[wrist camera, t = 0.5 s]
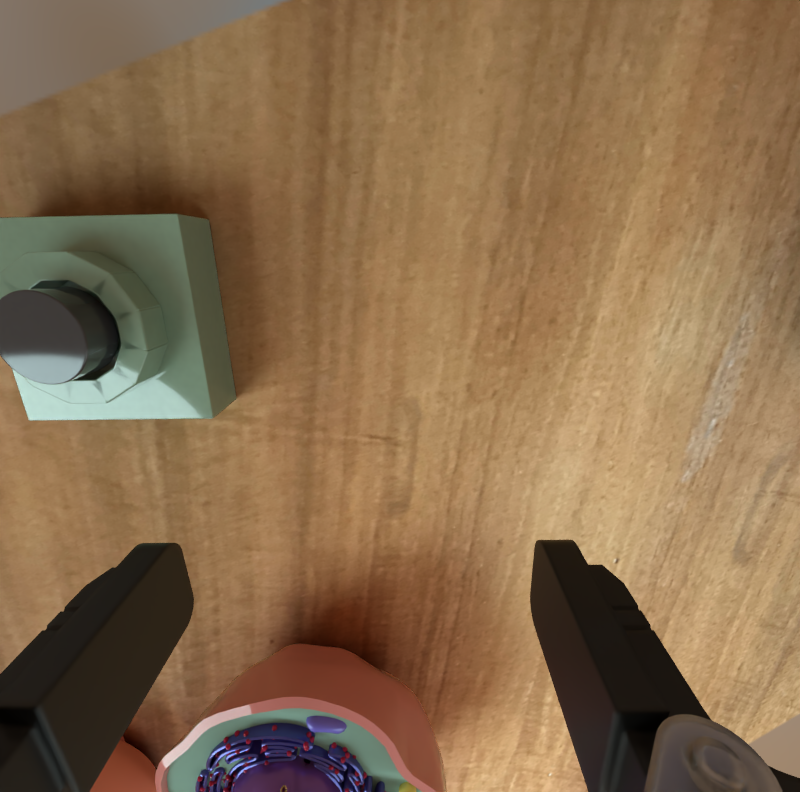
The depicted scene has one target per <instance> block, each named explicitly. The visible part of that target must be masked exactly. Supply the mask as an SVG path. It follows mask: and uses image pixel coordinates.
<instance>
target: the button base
mask: <svg viewBox="0 0 800 792" xmlns="http://www.w3.org/2000/svg"><path fill="white" fill-rule="evenodd" d="M58 286H68V287H74V288H77V289H80V290H82V291H85V292H87V293H89V294H90V295H92V296H93V297H95V298H96V299H97V300H99V301H100V302H101V303H102V304H103V305H104V306H105V307H106V309H107V310H108V311H109V313H110V314H111V316H112V318H113V320H114V322H115V324H116V327H117V331H118V348H117V352H116V354H115V356H114V358H113V359H112V361H111V362H110V363H109V364H108V365H107V366H106V367H104V368H102V369H101V370H98V371H95V372H93V373H90V374H87V375H85V376H82V377H79V378H77V379H74V380H71V381H69V382H66V383H62V384H55V385H52V384H43V383H38V382H35V381H32V380H30V379H27V378H26V377H24V376H22V375H20V374H19V373H17V372H16V371H15V370H14V369H12V370H13V373H14V377H15V380H16V383H17V386H18V389H19V392H20V395H21V398H22V401H23V404H24V407H25V410H26V413H27V416H28V419H29V420H114V419H204V418H214V417H215V416H217V415H218V414H219V413H220V412H221V411H223V410H224V409H225V408H226V407H227V406H228V405H230V404H231V403H232V402H233V401H234V400H236V392H235V386H234V379H233V373H232V366H231V360H230V353H229V347H228V340H227V334H226V327H225V321H224V314H223V308H222V301H221V295H220V288H219V282H218V275H217V269H216V262H215V256H214V249H213V243H212V236H211V230H210V223H209V219H205V218H199V217H194V216H188V215H182V214H134V215H89V216H44V217H0V299H1V298H2V297H4V296H5V295H7V294H8V293H11V292H13V291H17V290H25V289H36V288H47V287H58Z"/></svg>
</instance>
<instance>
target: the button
mask: <svg viewBox="0 0 800 792" xmlns="http://www.w3.org/2000/svg"><path fill="white" fill-rule="evenodd" d="M117 348H118V331H117V327H116V324H115V322H114V320H113V318H112V316H111V314H110V313H109V311H108V310H107V309H106V307H105V306H104V305H103V304H102V303H101V302H100V301H99V300H97V299H96V298H95V297H93V296H92V295H90V294H89V293H87V292H85V291H82V290H80V289H77V288H74V287H68V286H58V287H47V288H36V289H25V290H17V291H13V292H11V293H8V294H7V295H5V296H4V297H2V298H1V299H0V355H1V357H2V358H3V359H4V361H5V362H6V363H7V364H8V365H9V366H10V367H11V368H12V369H14V370H15V371H16V372H17V373H19V374H20V375H22V376H24V377H26V378H27V379H30V380H32V381H35V382H38V383H43V384H52V385H55V384H62V383H66V382H69V381H71V380H74V379H77V378H79V377H82V376H85V375H87V374H90V373H93V372H95V371H98V370H101V369H102V368H104V367H106V366H107V365H108V364H109V363H110V362H111V361H112V359H113V358H114V356H115V354H116V352H117Z"/></svg>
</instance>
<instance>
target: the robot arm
mask: <svg viewBox="0 0 800 792" xmlns="http://www.w3.org/2000/svg"><path fill="white" fill-rule="evenodd" d="M530 603H531V612H532V618H533V623H534V626H535V629H536V632H537V636H538V639H539V642H540V645H541V648H542V651H543V654H544V657H545V660H546V663H547V666H548V669H549V672H550V675H551V678H552V681H553V684H554V688H555V691H556V694H557V697H558V700H559V703H560V706H561V709H562V712H563V715H564V718H565V721H566V724H567V727H568V730H569V733H570V736H571V740H572V743H573V746H574V749H575V752H576V755H577V758H578V761H579V764H580V767H581V770H582V773H583V776H584V779H585V782H586V785H587V788H588V792H800V778H797V777H794V776H791V775H788V774H786V773H783V772H781V771H778V770H776V769H774V768H772V767H770V766H768V765H767V764H766V763H765V762H764V760H763V759H762V758H761V757H760V756H759V755H758V754H757V753H756V752H755V751H754V750H753V749H752V748H751V747H750V746H749V745H748V744H747V743H746V742H745V741H743V740H742V739H741V738H740V737H738V736H737V735H736V734H734V733H733V732H731V731H730V730H728V729H727V728H725V727H723V726H722V725H720V724H718V723H715V722H713V721H712V720H711V719H710V718H709V716H708V715H707V713H706V712H705V711H704V709H703V707H702V706H701V704H700V703H699V701H698V700H697V698H696V696H695V695H694V693H693V692H692V690H691V689H690V687H689V685H688V684H687V682H686V681H685V679H684V678H683V676H682V674H681V673H680V671H679V670H678V668H677V666H676V665H675V663H674V662H673V660H672V659H671V657H670V655H669V654H668V652H667V651H666V649H665V648H664V646H663V644H662V643H661V641H660V640H659V638H658V637H657V635H656V633H655V632H654V630H651V628H650V624H649V622H648V621H647V619H646V618H645V616H644V615H643V613H642V611H639V609H638V605H637V603H636V602H635V600H634V599H633V597H632V596H631V594H630V592H629V591H628V589H627V588H626V586H625V585H624V583H623V582H622V581H620V580H619V579H618V578H617V577H616V576H614V575H613V574H612V573H611V572H610V571H609V570H607V569H606V568H605V567H604V566H603V565H588V564H587V562H586V560H585V559H584V557H583V555H582V553H581V551H580V550H579V548H578V546H577V544H576V543H575V542H574V541H573V540H537V541H536V544H535V549H534V560H533V571H532V581H531V592H530ZM193 605H194V597H193V592H192V588H191V584H190V580H189V576H188V572H187V568H186V564H185V560H184V556H183V552H182V549H181V547H180V546H179V545H178V544H177V543H141V544H139V545H137V546H136V547H135V548H134V549H133V550H132V551H131V552H130V553H129V554H128V555H127V556H126V557H125V558H124V560H123V561H122V562H121V563H120V564H119V565H118V566H117V567H116V568H111V569H109V570H108V571H106V572H105V573H104V574H102V575H101V576H99V577H98V578H96V579H95V580H93V581H92V582H90V583H89V584H87V585H86V586H85V587H84V588H83V589H82V590H81V591H80V592H79V593H78V594H77V595H76V596H75V597H74V598H73V599H72V600H71V601H70V602H69V603H68V605H67V606H66V607H65V610H64V612H60V613H59V614H58V615H57V616H56V617H55V618H54V619H53V620H52V621H51V622H50V623H49V624H48V625H47V629H46V630H45V631H42V632H41V633H40V634H39V635H38V636H37V637H36V638H35V639H34V640H33V641H32V642H31V643H30V644H29V645H28V646H27V647H26V648H25V649H24V650H23V651H22V652H21V653H20V654H19V655H18V656H17V657H16V659H15V660H14V661H13V662H12V663H11V664H10V665H9V666H8V667H7V668H6V669H5V670H4V671H3V672H2V673H1V674H0V792H90V790H91V788H92V787H93V785H94V783H95V781H96V780H97V778H98V776H99V775H100V773H101V771H102V770H103V768H104V766H105V765H106V763H107V761H108V759H109V758H110V756H111V754H112V753H113V751H114V749H115V748H116V746H117V744H118V743H119V741H120V739H121V737H122V736H123V734H124V732H125V731H126V729H127V727H128V726H129V724H130V722H131V721H132V719H133V717H134V715H135V714H136V712H137V710H138V709H139V707H140V705H141V704H142V702H143V700H144V699H145V697H146V695H147V693H148V692H149V690H150V688H151V687H152V685H153V683H154V682H155V680H156V678H157V677H158V675H159V673H160V671H161V670H162V668H163V666H164V665H165V663H166V661H167V660H168V658H169V656H170V655H171V653H172V651H173V649H174V648H175V646H176V644H177V643H178V641H179V639H180V638H181V636H182V634H183V633H184V631H185V629H186V627H187V626H188V624H189V621H190V619H191V615H192V611H193Z"/></svg>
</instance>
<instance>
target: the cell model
mask: <svg viewBox="0 0 800 792" xmlns="http://www.w3.org/2000/svg"><path fill="white" fill-rule="evenodd" d="M155 785H156V790H157V792H447V788H446V776H445V769H444V765H443V760H442V756H441V753H440V749H439V746H438V743H437V740H436V737H435V734H434V732H433V729H432V727H431V724H430V722H429V719H428V717H427V714H426V712H425V710H424V708H423V706H422V704H421V702H420V701H419V700H418V698H417V697H416V695H415V694H414V693H413V692H412V691H411V690H410V689H409V688H408V687H407V686H406V685H405V684H404V683H403V682H402V681H401V680H399V679H398V678H396V677H395V676H394V675H392V674H390V673H388V672H386V671H383V670H380V669H377V668H376V667H374V666H373V665H371V664H370V663H368V662H367V661H365V660H363V659H362V658H360V657H359V656H357V655H356V654H354V653H352V652H350V651H348V650H345V649H342V648H338V647H329V646H319V645H311V644H298V643H295V644H292V645H288V646H286V647H284V648H282V649H281V650H279V651H277V652H276V653H274V654H272V655H271V656H269V657H267V658H265V659H263V660H262V661H260V662H258V663H256V664H254V665H252V666H251V667H249V668H247V669H246V670H245V671H244V672H242V673H241V674H240V675H239V676H237V677H236V678H235V679H234V680H233V681H232V682H231V683H230V684H229V685H228V686H227V687H226V689H225V690H224V691H223V692H222V693H221V694H220V695H219V696H218V697H217V698H216V699H215V700H214V702H213V703H212V704H210V705H209V706H208V707H207V708H206V710H205V711H204V712H203V713H202V714H201V716H200V717H199V719H198V720H197V722H196V723H195V724H194V726H193V727H192V728H191V729H190V730H189V731H188V732H187V733H186V734H185V735H184V736H183V737H182V738H181V739H180V741H179V742H178V743H177V744H176V745H175V746H174V747H173V748H172V749H171V750H170V751H169V752H168V753H167V754H166V755H165V756H164V758H163V759H162V760H161V762H160V763H159V765H158V768H157V771H156V774H155Z"/></svg>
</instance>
